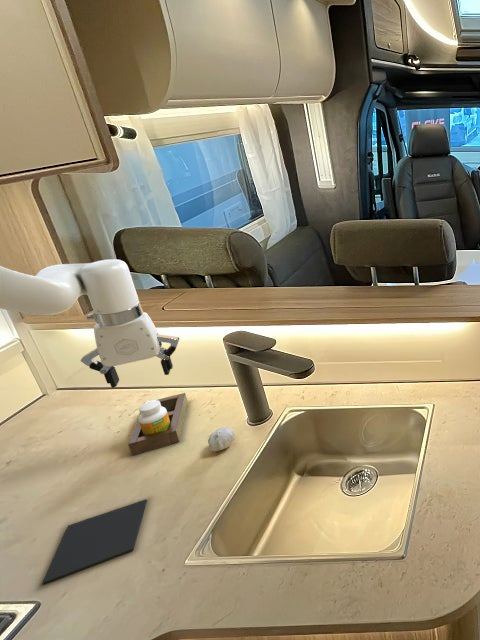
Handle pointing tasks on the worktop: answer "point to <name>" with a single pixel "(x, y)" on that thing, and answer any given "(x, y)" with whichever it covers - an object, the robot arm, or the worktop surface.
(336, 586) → the worktop surface
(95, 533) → the mat
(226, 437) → the garlic
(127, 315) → the robot arm
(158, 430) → the supplement bottle
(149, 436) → the stand
